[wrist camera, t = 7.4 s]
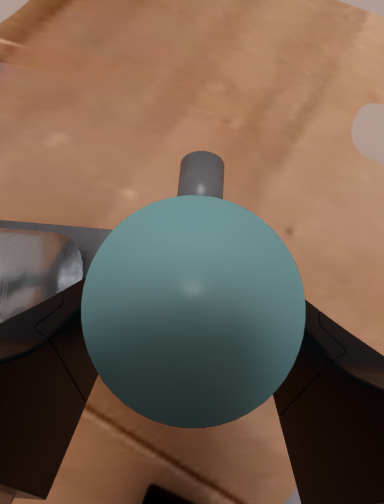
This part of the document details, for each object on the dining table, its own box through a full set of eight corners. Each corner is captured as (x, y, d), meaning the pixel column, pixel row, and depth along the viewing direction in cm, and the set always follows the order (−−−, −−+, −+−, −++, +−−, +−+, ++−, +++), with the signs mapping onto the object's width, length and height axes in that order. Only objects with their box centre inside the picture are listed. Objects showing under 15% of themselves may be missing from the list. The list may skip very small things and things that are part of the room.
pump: (220, 332, 15) (311, 436, 4) (150, 326, 15) (56, 419, 4) (225, 236, 17) (296, 133, 6) (161, 230, 16) (117, 116, 6)
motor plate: (250, 245, 22) (314, 201, 11) (249, 355, 20) (328, 435, 9) (12, 224, 22) (-164, 158, 11) (-20, 334, 19) (-289, 393, 8)
